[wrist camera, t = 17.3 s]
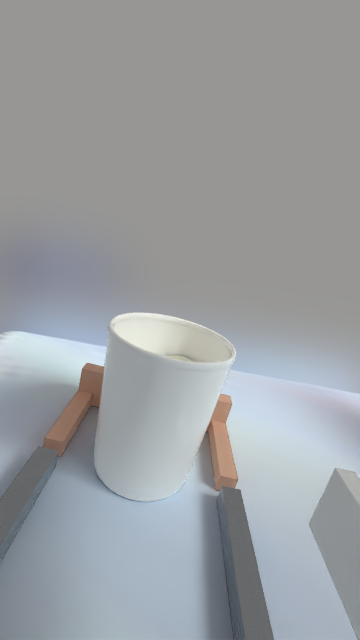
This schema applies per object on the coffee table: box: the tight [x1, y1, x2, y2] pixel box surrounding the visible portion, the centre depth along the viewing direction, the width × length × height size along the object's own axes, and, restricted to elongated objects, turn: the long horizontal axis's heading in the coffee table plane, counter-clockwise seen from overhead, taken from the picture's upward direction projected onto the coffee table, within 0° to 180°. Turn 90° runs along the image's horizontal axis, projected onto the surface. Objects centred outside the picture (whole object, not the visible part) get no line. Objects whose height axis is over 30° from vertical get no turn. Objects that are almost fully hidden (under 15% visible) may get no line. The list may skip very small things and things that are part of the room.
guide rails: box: [0, 446, 274, 640], centre depth 14 cm, size 16×17×2 cm
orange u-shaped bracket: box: [43, 363, 238, 491], centre depth 27 cm, size 16×9×4 cm, turn 89°
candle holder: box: [94, 313, 236, 502], centre depth 23 cm, size 10×10×12 cm
